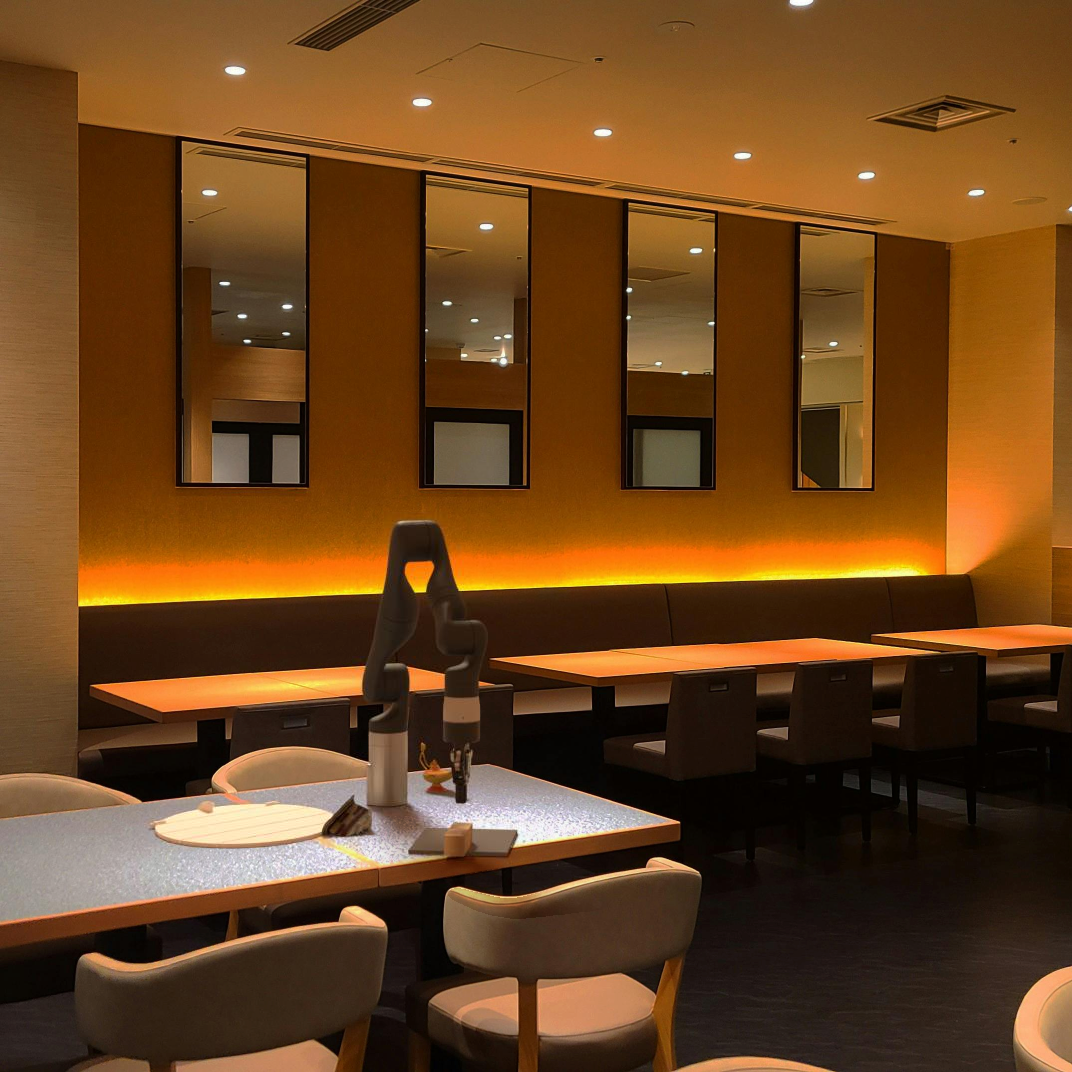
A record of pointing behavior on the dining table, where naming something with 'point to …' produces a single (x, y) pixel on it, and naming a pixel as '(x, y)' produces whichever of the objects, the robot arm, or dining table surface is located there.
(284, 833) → the lazy susan
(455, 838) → the oak pillar
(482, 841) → the charcoal mat
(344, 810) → the chocolate cake
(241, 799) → the dining table surface
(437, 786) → the magic lamp
